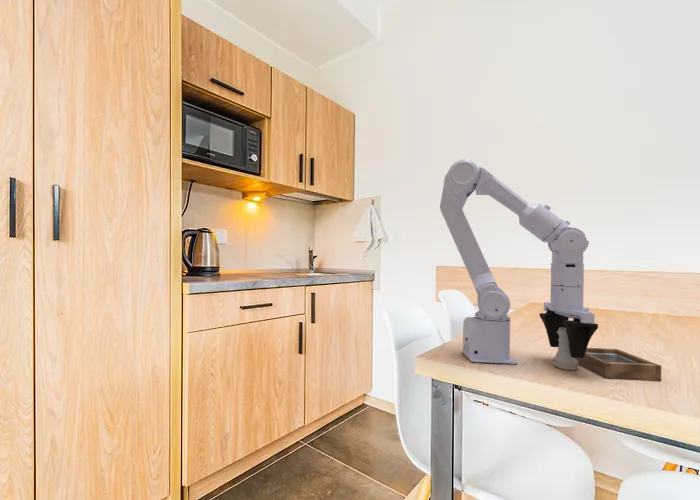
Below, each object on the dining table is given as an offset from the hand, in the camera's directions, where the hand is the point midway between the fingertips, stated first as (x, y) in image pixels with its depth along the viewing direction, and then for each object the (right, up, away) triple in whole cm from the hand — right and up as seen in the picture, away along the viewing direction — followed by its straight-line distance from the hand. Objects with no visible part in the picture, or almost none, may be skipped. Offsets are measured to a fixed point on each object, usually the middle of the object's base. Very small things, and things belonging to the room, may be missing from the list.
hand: (566, 351), depth 70 cm
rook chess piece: (0, -3, 0) cm, 3 cm away
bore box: (+9, -3, -1) cm, 9 cm away
